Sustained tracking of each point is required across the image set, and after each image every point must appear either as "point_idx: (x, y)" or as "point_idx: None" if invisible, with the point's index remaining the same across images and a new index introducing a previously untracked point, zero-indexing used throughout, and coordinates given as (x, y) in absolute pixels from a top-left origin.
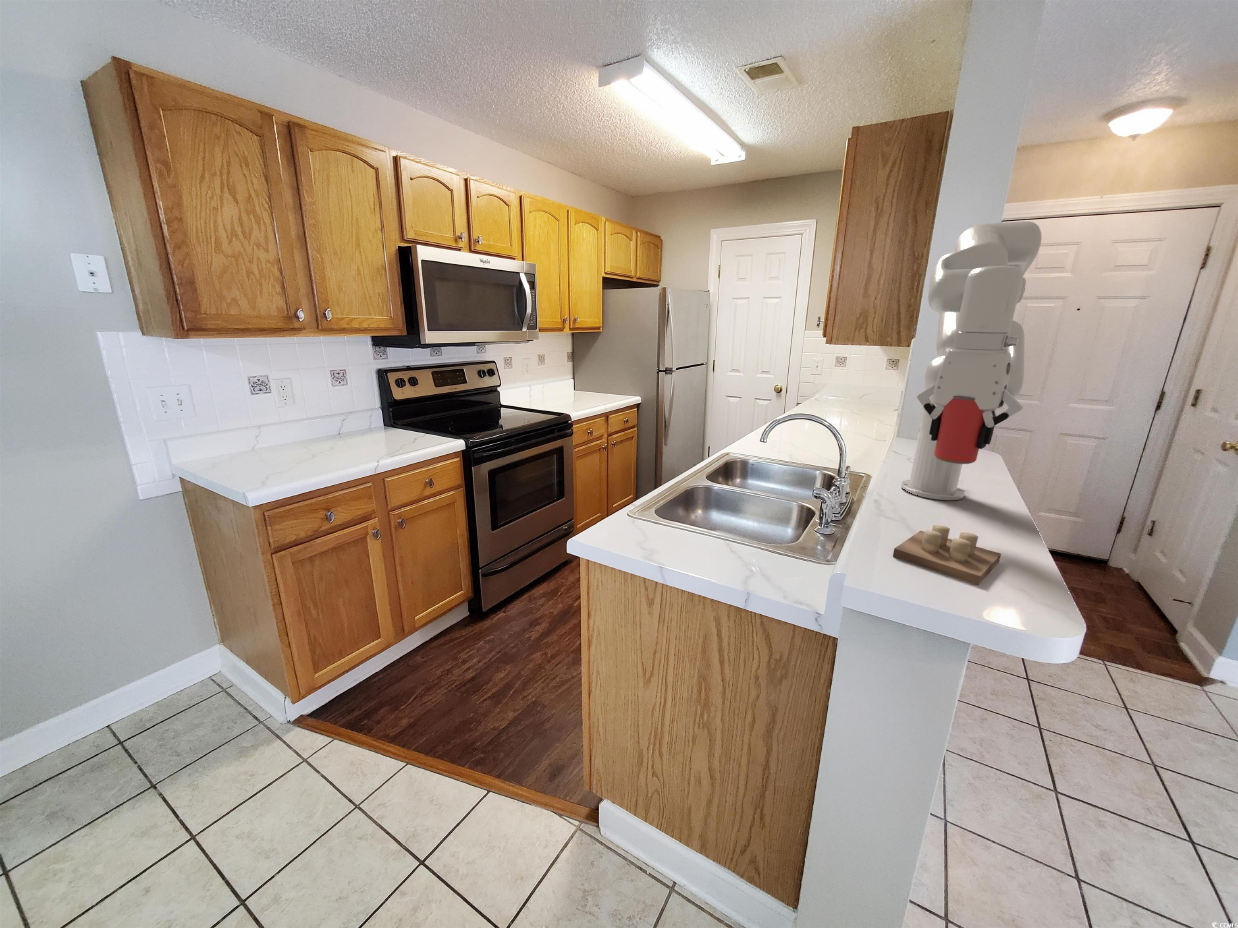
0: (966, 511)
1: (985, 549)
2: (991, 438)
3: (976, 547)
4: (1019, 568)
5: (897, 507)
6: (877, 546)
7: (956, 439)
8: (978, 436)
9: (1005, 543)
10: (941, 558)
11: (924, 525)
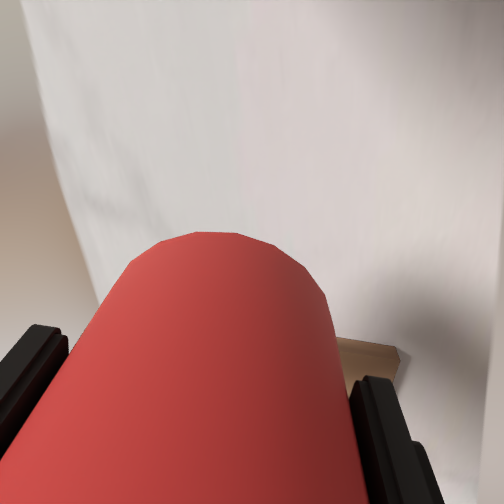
0: None
1: (367, 357)
2: (430, 471)
3: (347, 357)
4: (433, 353)
5: (85, 65)
6: None
7: None
8: None
9: (424, 200)
10: None
11: (208, 204)
